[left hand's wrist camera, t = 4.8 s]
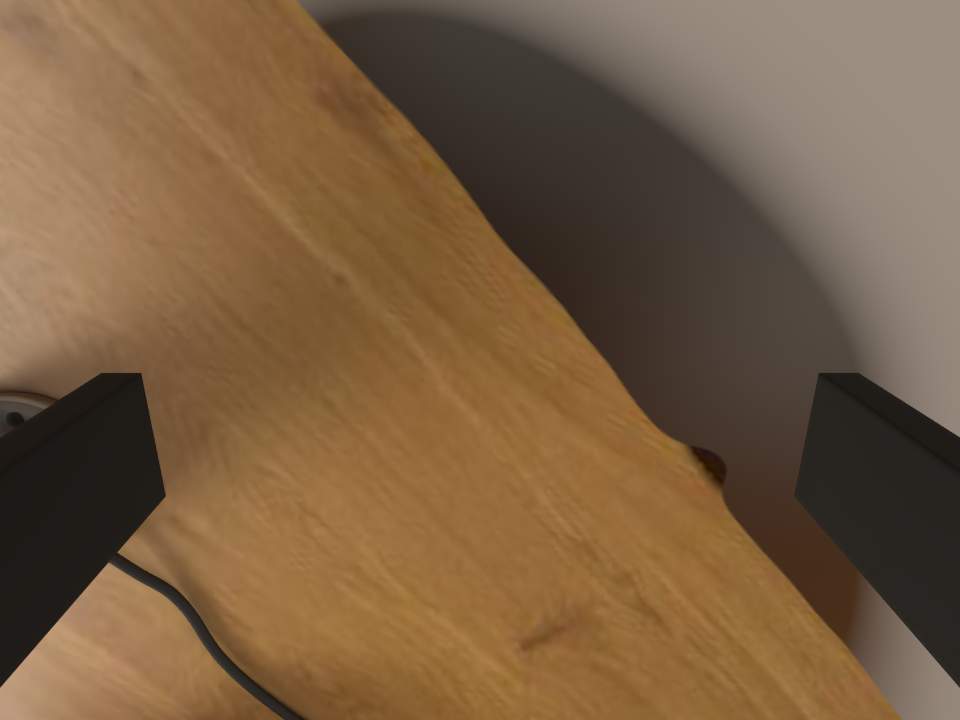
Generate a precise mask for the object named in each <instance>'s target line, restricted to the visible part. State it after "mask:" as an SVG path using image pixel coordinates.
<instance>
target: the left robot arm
mask: <svg viewBox="0 0 960 720" xmlns="http://www.w3.org/2000/svg"><path fill="white" fill-rule="evenodd" d="M165 496H166V495H165V490H164V485H163V480H162V475H161V470H160V465H159V460H158V455H157V450H156V445H155V440H154V435H153V430H152V425H151V420H150V415H149V410H148V405H147V400H146V395H145V390H144V385H143V380H142V375H141V373H101V374H99V375H98V376H96V377H95V378H93V379H91V380H90V381H88V382H87V383H85V384H84V385H82V386H80V387H79V388H77V389H76V390H74V391H73V392H71V393H69V394H68V395H66V396H65V397H63V398H61V399H60V400H58V401H57V400H54V399H51V398H48V397H44V396H40V395H36V394H30V393H21V392H5V393H0V687H1V686H2V685H3V684H4V683H5V681H6V680H7V679H8V678H9V677H10V676H11V675H12V673H13V672H14V671H15V670H16V669H17V668H18V666H19V665H20V664H21V663H22V662H23V661H24V659H25V658H26V657H27V656H28V655H29V654H30V653H31V651H32V650H33V649H34V648H35V647H36V646H37V644H38V643H39V642H40V641H41V640H42V639H43V638H44V636H45V635H46V634H47V633H48V632H49V631H50V629H51V628H52V627H53V626H54V625H55V624H56V622H57V621H58V620H59V619H60V618H61V617H62V616H63V614H64V613H65V612H66V611H67V610H68V609H69V607H70V606H71V605H72V604H73V603H74V602H75V601H76V599H77V598H78V597H79V596H80V595H81V594H82V592H83V591H84V590H85V589H86V588H87V587H88V585H89V584H90V583H91V582H92V581H93V580H94V579H95V577H96V576H97V575H98V574H99V573H100V572H101V570H102V569H103V568H104V567H105V566H106V565H107V564H108V562H109V563H111V564H112V565H114V566H115V567H117V568H118V569H120V570H122V571H123V572H125V573H126V574H128V575H130V576H131V577H133V578H134V579H136V580H138V581H140V582H141V583H143V584H145V585H147V586H149V587H151V588H153V589H155V590H156V591H158V592H160V593H161V594H163V595H164V596H166V597H167V598H168V599H169V600H170V601H172V602H173V603H174V604H175V605H176V606H177V607H178V608H179V610H180V611H181V612H182V613H183V614H184V615H185V617H186V618H187V620H188V621H189V622H190V624H191V625H192V627H193V629H194V630H195V632H196V633H197V635H198V637H199V638H200V640H201V641H202V643H203V644H204V646H205V647H206V649H207V650H208V652H209V653H210V654H211V656H212V657H213V658H214V659H215V660H216V662H217V663H218V664H219V665H220V666H221V667H222V668H223V669H224V670H225V671H226V672H227V673H228V674H229V675H230V676H231V677H232V678H233V679H234V680H235V681H236V682H238V683H239V684H240V685H241V686H242V687H243V688H244V689H246V690H247V691H248V692H249V693H250V694H252V695H253V696H254V697H255V698H257V699H258V700H259V701H260V702H262V703H263V704H264V705H266V706H267V707H268V708H270V709H271V710H272V711H274V712H275V713H276V714H278V715H279V716H280V717H281V718H283V719H284V720H303V719H302V718H300V717H299V716H298V715H296V714H295V713H294V712H292V711H291V710H290V709H288V708H287V707H286V706H284V705H283V704H282V703H280V702H279V701H278V700H277V699H275V698H274V697H273V696H271V695H270V694H269V693H268V692H266V691H265V690H264V689H262V688H261V687H260V686H259V685H257V684H256V683H255V682H254V681H253V680H251V679H250V678H249V677H248V676H247V675H246V674H245V673H244V672H243V671H241V670H240V669H239V668H238V667H237V666H236V665H235V664H234V663H233V662H232V661H231V660H230V659H229V658H228V657H227V655H226V654H225V653H224V652H223V651H222V650H221V648H220V647H219V646H218V644H217V643H216V642H215V640H214V639H213V637H212V636H211V634H210V632H209V631H208V629H207V627H206V626H205V624H204V623H203V621H202V619H201V618H200V616H199V615H198V613H197V612H196V611H195V609H194V608H193V607H192V605H191V604H190V603H189V602H188V601H187V600H186V599H185V597H184V596H183V595H182V594H181V593H179V592H178V591H177V590H176V589H175V588H174V587H172V586H171V585H170V584H168V583H167V582H165V581H163V580H162V579H160V578H158V577H156V576H154V575H152V574H150V573H149V572H147V571H145V570H143V569H142V568H140V567H139V566H137V565H135V564H134V563H132V562H131V561H129V560H128V559H126V558H124V557H123V556H121V555H120V554H118V553H117V552H118V551H119V550H120V548H121V547H122V546H123V545H124V544H125V543H126V542H127V540H128V539H129V538H130V537H131V536H132V535H133V533H134V532H135V531H136V530H137V529H138V528H139V527H140V525H141V524H142V523H143V522H144V521H145V520H146V518H147V517H148V516H149V515H150V514H151V513H152V511H153V510H154V509H155V508H156V507H157V506H158V505H159V503H160V502H161V501H162V500H163V499H164V498H165ZM794 496H795V498H796V499H797V500H798V501H799V502H800V503H801V504H802V506H803V507H804V508H805V509H806V510H807V511H808V513H809V514H810V515H811V516H812V517H813V518H814V519H815V521H816V522H817V523H818V524H819V525H820V527H821V528H822V529H823V530H824V531H825V532H826V533H827V534H828V536H829V537H830V538H831V539H832V540H833V542H834V543H835V544H836V545H837V546H838V547H839V548H840V550H841V551H842V552H843V553H844V554H845V555H846V557H847V558H848V559H849V560H850V561H851V562H852V563H853V565H854V566H855V567H856V568H857V569H858V570H859V572H860V573H861V574H862V575H863V576H864V577H865V579H866V580H867V581H868V582H869V583H870V584H871V585H872V587H873V588H874V589H875V590H876V591H877V592H878V593H879V595H880V596H881V597H882V598H883V599H884V601H885V602H886V603H887V604H888V605H889V606H890V607H891V609H892V610H893V611H894V612H895V613H896V614H897V615H898V617H899V618H900V619H901V620H902V621H903V622H904V624H905V625H906V626H907V627H908V628H909V629H910V631H911V632H912V633H913V634H914V635H915V636H916V637H917V639H918V640H919V641H920V642H921V643H922V644H923V646H924V647H925V648H926V649H927V650H928V651H929V652H930V654H931V655H932V656H933V657H934V658H935V659H936V661H937V662H938V663H939V664H940V665H941V666H942V668H943V669H944V670H945V671H946V672H947V673H948V674H949V676H950V677H951V678H952V679H953V680H954V681H955V683H956V684H957V685H958V686H959V687H960V437H958V436H957V435H955V434H954V433H952V432H950V431H949V430H947V429H946V428H944V427H943V426H941V425H939V424H938V423H936V422H935V421H933V420H932V419H930V418H928V417H927V416H925V415H924V414H922V413H921V412H919V411H917V410H916V409H914V408H913V407H911V406H909V405H908V404H906V403H905V402H903V401H902V400H900V399H898V398H897V397H895V396H894V395H892V394H891V393H889V392H887V391H886V390H884V389H883V388H881V387H880V386H878V385H876V384H875V383H873V382H872V381H870V380H869V379H867V378H865V377H864V376H862V375H861V374H859V373H819V375H818V380H817V385H816V390H815V395H814V400H813V405H812V410H811V415H810V420H809V425H808V430H807V435H806V440H805V445H804V450H803V455H802V460H801V465H800V470H799V475H798V480H797V485H796V490H795V495H794Z"/></svg>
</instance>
